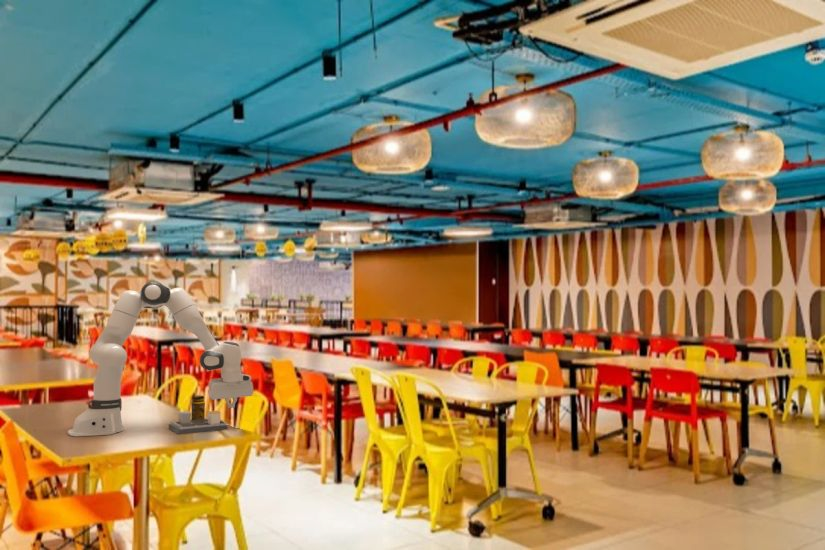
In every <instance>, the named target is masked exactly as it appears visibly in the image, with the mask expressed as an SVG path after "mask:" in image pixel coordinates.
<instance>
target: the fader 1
mask: <svg viewBox="0 0 825 550" xmlns="http://www.w3.org/2000/svg"><path fill="white" fill-rule="evenodd" d="M191 419H192V412H191V411H187V410H185V411H178V422H179V424H186V423H191Z"/></svg>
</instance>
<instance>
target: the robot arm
mask: <svg viewBox="0 0 825 550" xmlns="http://www.w3.org/2000/svg"><path fill="white" fill-rule="evenodd" d="M116 301H117V302H116V303H115V305H114V307H113V309H112V311H111V314H110V316H109V318H108V320H107V323H106V325H105V326H104V328H103V330H102V331H101V332H100V334H99V337H98V338H97V339H96V341H95V343H94V344H92V346H91V348H90V350H89V355H88V356H89V358H90V359H91V361H92V362H93V364H95V365H96V366H97V370H96V375H95V378H94V381H93V398H92V399H91V400H90V399H87V400H86V401H85V403H86V405H88V406H87V407H88V408H87V409H86V410H85V411H83V412H81V414H79V415H78V416H77V417H75V420H74V423H73V427H72V428H70V429H69V430H67V434H68V436H71V437H89V436H90V437H92V436H107V435H108V436H109V435H114V434H117V433H120V432H123V431H124V425H123V421H122V415H121V414H122V413H121V412H122V409H123V408H122V406H123V404H122V402H123V401H122V398H121V391H122V390H121V389H122V387H121V383H122V376H123V371H124V368H125V363H126V362H127V359H128V355H127V354H128V353H127V351H126V349H125V348H124V347H123V345H124V344H125V342H126V341H127V339H128V338H129V337H130V336H131V334H132V332H133V331H134V327H135V326H136V323H137V321H138V319H139V315H140V313H141V311H142V310H143V309H158V308H161V307H163V306H165V307H166V308H168V310H169V311H170V313H171V316H172V317H173V318H174V321H176V324H177V325H178V326H179V327H180V328H181V329H182V330H186V331H188V332H190V333H192V334H193V335H195V336H196V337H197V339H198V341H199V342H200V344H201V345H202V347H203V349H204V350H205V351H204V352H202V353H201V355H200V357H199V364H200V366H201V368H203V369H204V370H206V371H215V370H221V372H220V376H221V377H218V378H212V379H210V380H209V381H208V389H209V390H208V399H210V400H214V401H215V400H223V399H224V402H226V405H227V409H232V408H233V409H234V408H235V407H236V403H237V401H238V398H243V397H245V398H246V397H252V396H253V394H254V384H253V382H252V376H251V375H249V374H245V373H243V372H242V369H241V362H242V351H241V346H240V345H239V344H238V343H237V342H234V341H233V342H232V341H223V342H222V343H221V344H219V342H218V341H217V340H216V338H215V337H214V335H213V334H212V332H211V331H210V329H209V328H208V326H207V324H206V322H205V321H204V319H203V317H202V315H201V313H200V311H199V309H198V307H197V305H196V304H195V302H194V300H193V298H192V297H191V296H190V295H189V293H188V292H187V291H186V289H184V288H183V287H174V288H171V289H170V288H169V287H167V286H165V285H164V284H162V283H160V282H158V281H149V282H146V283H145V284H144V285H143V286H142V287H141V290H140V291H136V290H129V289H128V290H125V291H123V292H122V293H121V295H120V296H119V298H118V299H117V300H116ZM230 399H232V400H233V401H232V403H230Z"/></svg>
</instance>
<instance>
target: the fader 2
mask: <svg viewBox="0 0 825 550" xmlns="http://www.w3.org/2000/svg"><path fill="white" fill-rule="evenodd" d="M207 419H208V424H220V419H221V412H220V411H219V410H209V411H208V412H207Z"/></svg>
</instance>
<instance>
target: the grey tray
mask: <svg viewBox="0 0 825 550" xmlns="http://www.w3.org/2000/svg"><path fill="white" fill-rule="evenodd" d="M168 429H169V430H170V429H171V430H170V431H172V432H174V433H175V434H177V435H184V434H194V433H205V432H214V431H215V432H216V431H225V430H228V424H227V422H226V421H224V420H223V419H221V418H220V424H208V418H205V419H201V420H191V423H186V424H179V421H174V420H170V423H168Z"/></svg>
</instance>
